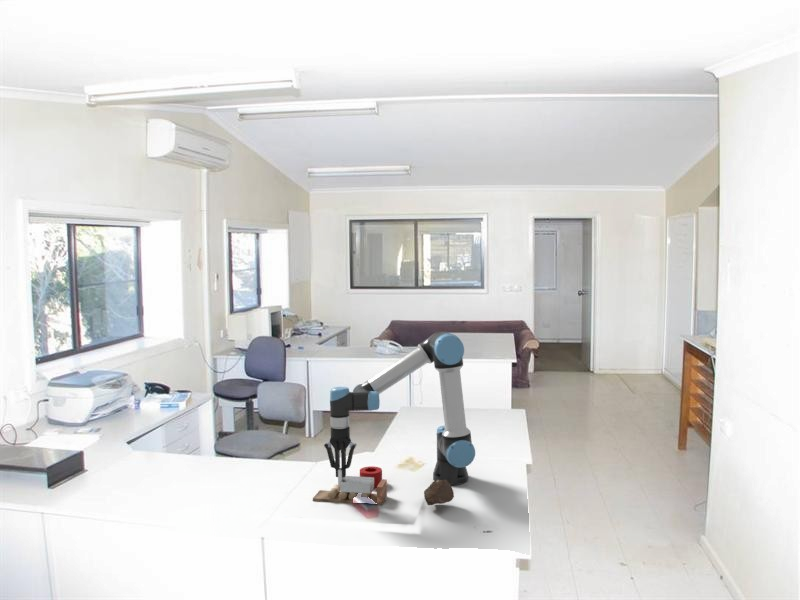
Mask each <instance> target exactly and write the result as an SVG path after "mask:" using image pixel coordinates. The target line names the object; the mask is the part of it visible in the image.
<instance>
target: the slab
mask: <svg viewBox="0 0 800 600" xmlns="http://www.w3.org/2000/svg"><path fill="white" fill-rule="evenodd" d="M373 488H374V477H360V476H356V475H346V476H345V478H343V479H342V480H341V481H340V492H353V493H369V494H370V493H371V491H372V492H373V490H374V489H373Z"/></svg>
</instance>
